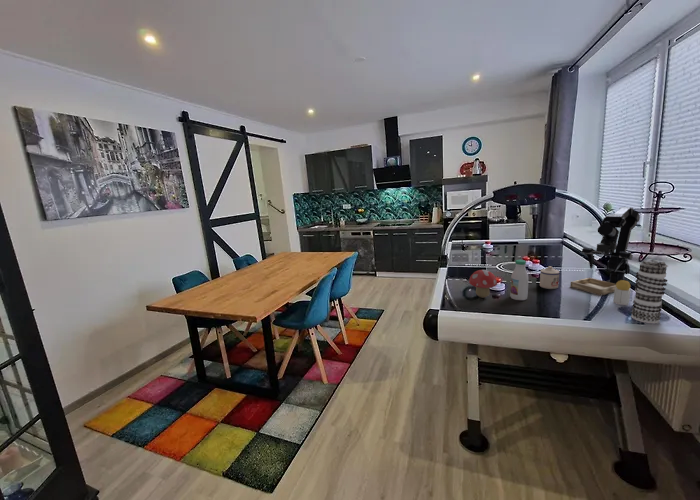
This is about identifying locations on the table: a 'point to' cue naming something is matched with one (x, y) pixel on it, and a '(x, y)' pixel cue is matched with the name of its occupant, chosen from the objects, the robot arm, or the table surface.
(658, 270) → the decorative candle
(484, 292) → the decorative mushroom
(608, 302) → the table surface
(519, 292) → the milk bottle
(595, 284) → the tray
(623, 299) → the cup
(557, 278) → the teacup with lid
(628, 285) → the ball
